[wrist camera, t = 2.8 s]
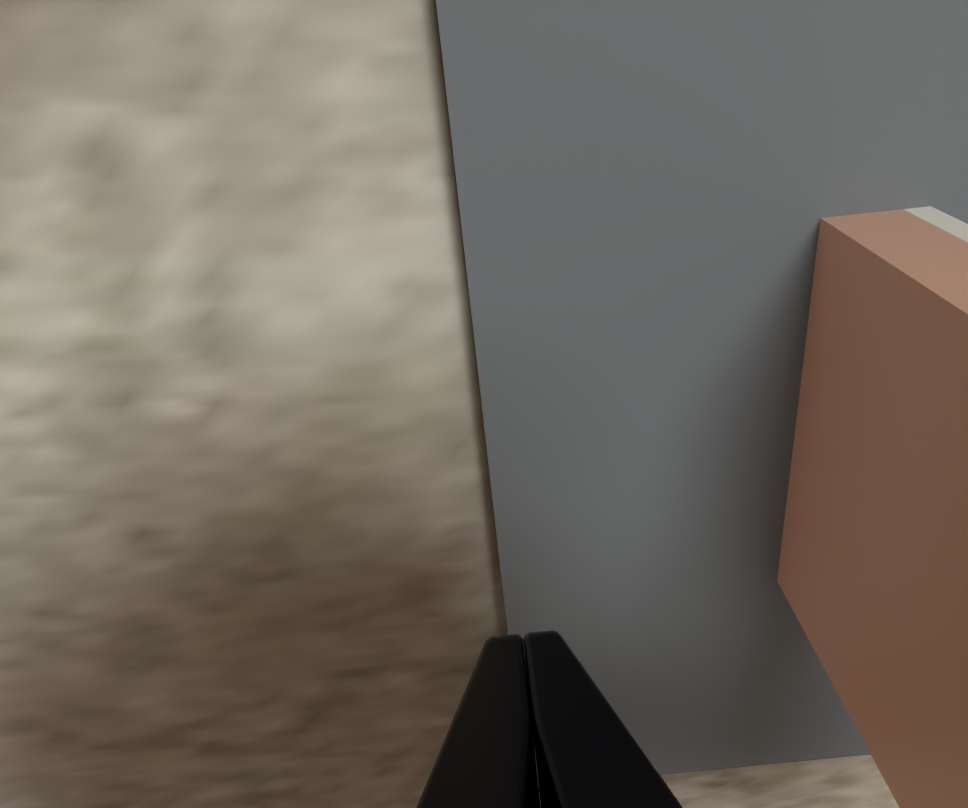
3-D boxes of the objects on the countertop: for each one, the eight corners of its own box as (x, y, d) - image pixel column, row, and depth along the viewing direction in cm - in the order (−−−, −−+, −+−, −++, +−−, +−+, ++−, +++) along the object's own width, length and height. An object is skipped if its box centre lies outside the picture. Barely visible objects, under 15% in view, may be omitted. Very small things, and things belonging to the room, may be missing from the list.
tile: (861, 572, 15) (1159, 1004, 8) (777, 580, 15) (1014, 1017, 8) (930, 206, 11) (1516, 486, 5) (820, 217, 11) (1269, 512, 5)
